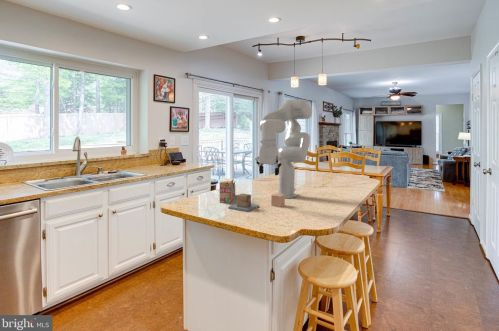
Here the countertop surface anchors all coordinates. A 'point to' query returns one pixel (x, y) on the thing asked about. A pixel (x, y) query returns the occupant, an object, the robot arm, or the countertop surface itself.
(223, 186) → the stack of blocks
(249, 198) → the walnut brick
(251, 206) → the baseplate
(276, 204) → the salmon pink cube
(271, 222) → the countertop surface
